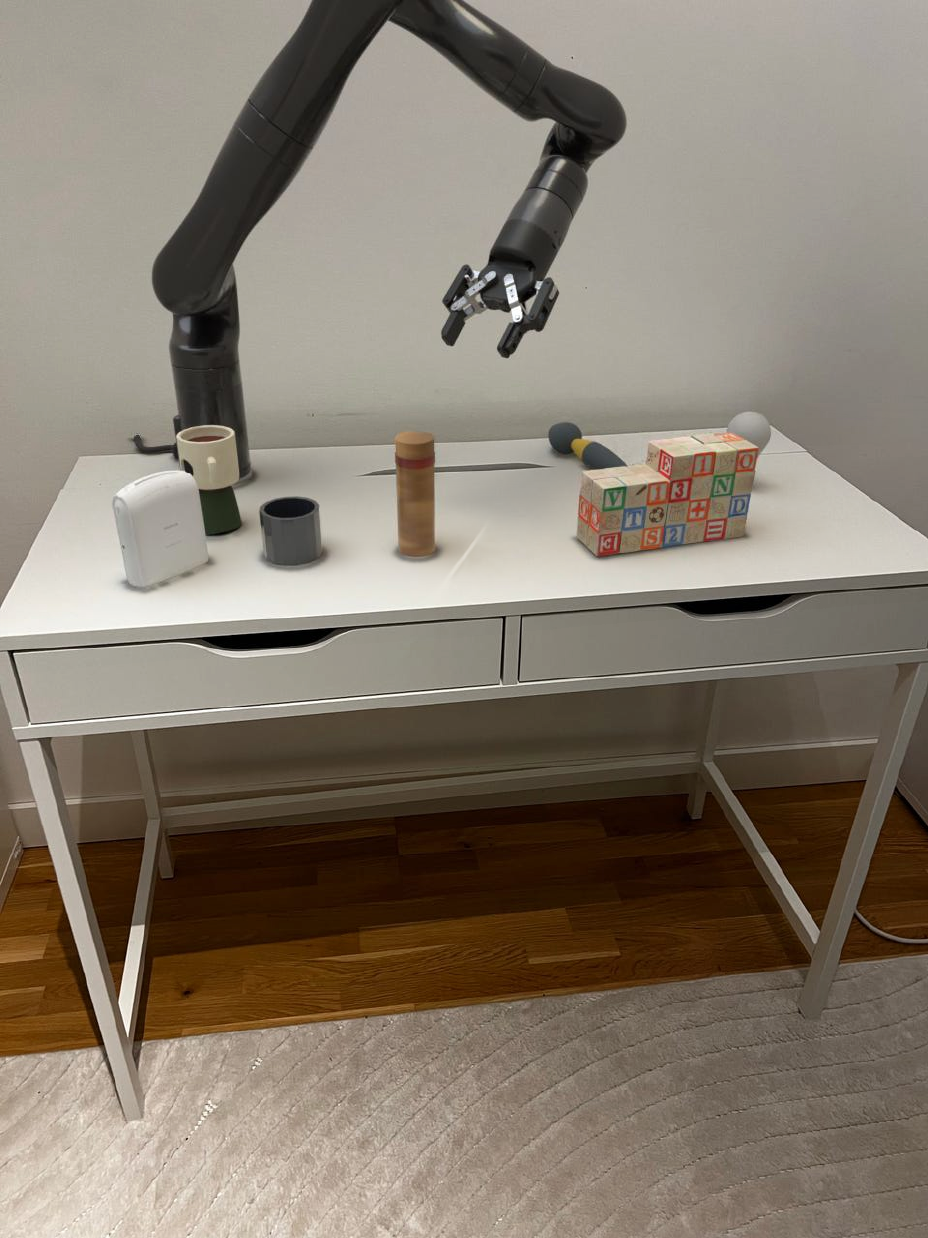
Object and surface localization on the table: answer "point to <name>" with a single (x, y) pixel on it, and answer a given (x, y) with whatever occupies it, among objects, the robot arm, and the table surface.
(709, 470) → the stack of blocks
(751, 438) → the lightbulb
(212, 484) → the character mug
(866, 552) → the table surface
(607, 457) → the wand massager
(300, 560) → the cup
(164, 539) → the photo printer
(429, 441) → the red-banded tan cylinder
